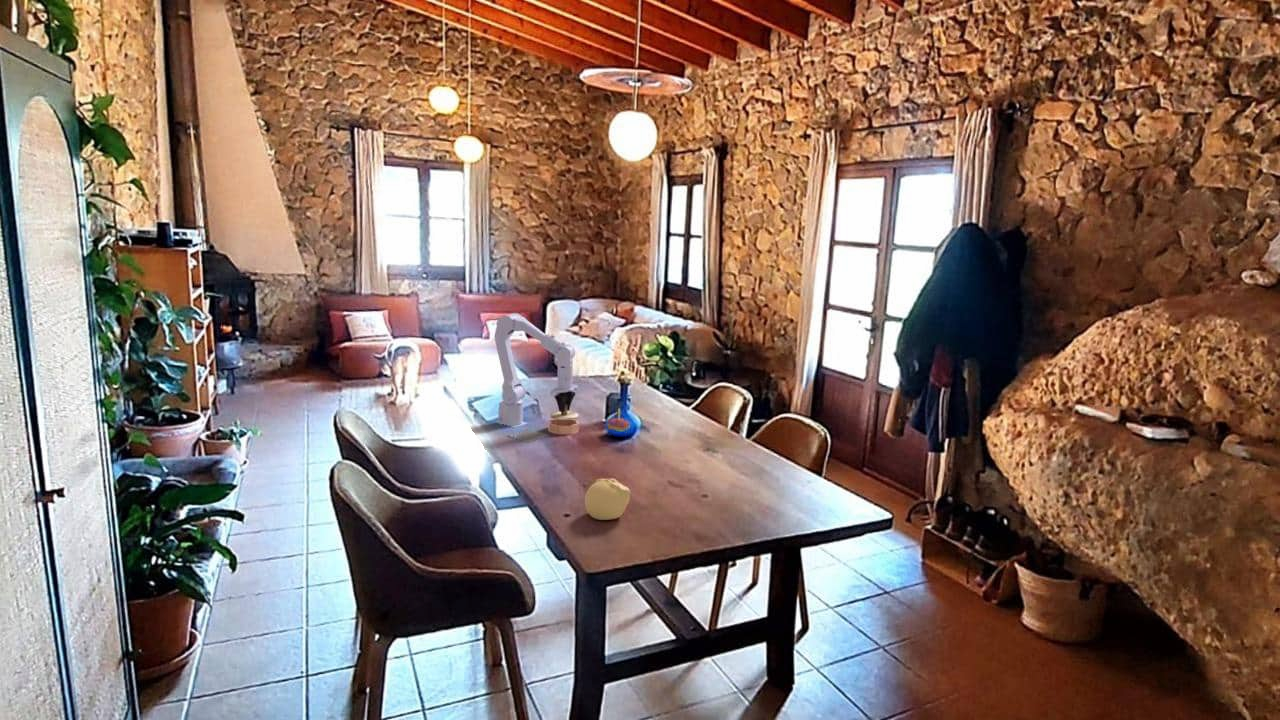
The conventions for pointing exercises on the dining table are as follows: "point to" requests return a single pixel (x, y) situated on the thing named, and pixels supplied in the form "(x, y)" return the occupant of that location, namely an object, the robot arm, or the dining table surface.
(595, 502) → the butter
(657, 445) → the dining table surface
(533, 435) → the mat
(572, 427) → the octagonal bowl
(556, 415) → the lid
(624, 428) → the cupcake
